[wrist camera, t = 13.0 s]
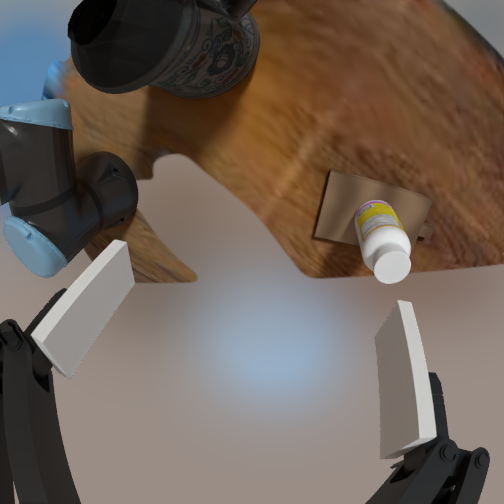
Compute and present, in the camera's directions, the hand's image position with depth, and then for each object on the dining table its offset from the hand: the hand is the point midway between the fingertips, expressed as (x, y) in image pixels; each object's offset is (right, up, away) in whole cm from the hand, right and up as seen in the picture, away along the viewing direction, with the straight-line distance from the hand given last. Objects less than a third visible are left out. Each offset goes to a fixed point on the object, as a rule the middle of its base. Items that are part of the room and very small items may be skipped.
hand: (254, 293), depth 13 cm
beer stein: (-6, +32, +18) cm, 37 cm away
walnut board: (+20, +8, +28) cm, 35 cm away
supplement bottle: (+19, +7, +27) cm, 33 cm away
